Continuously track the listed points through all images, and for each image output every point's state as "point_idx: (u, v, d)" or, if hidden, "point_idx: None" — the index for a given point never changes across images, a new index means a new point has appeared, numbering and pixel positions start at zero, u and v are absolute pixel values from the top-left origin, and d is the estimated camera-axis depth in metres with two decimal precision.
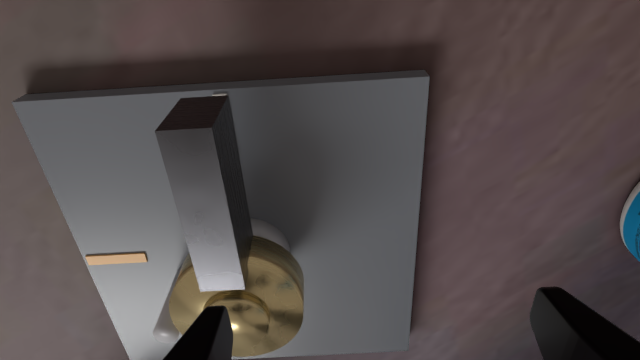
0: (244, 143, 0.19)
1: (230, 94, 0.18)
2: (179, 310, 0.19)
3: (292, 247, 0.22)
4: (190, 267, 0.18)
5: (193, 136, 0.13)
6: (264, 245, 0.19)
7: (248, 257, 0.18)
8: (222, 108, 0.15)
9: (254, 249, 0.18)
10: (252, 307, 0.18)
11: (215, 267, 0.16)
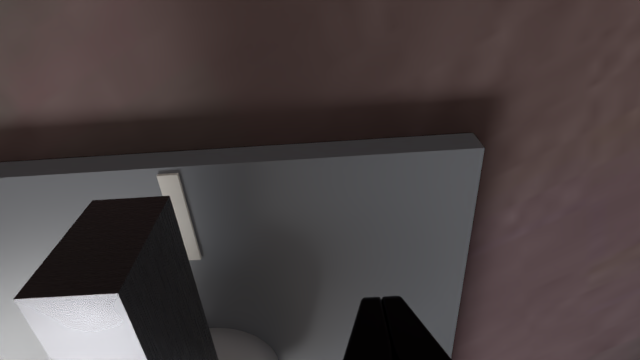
0: (209, 237, 0.13)
1: (184, 174, 0.12)
2: None
3: None
4: None
5: (87, 305, 0.07)
6: None
7: None
8: (152, 230, 0.09)
9: None
10: None
11: None
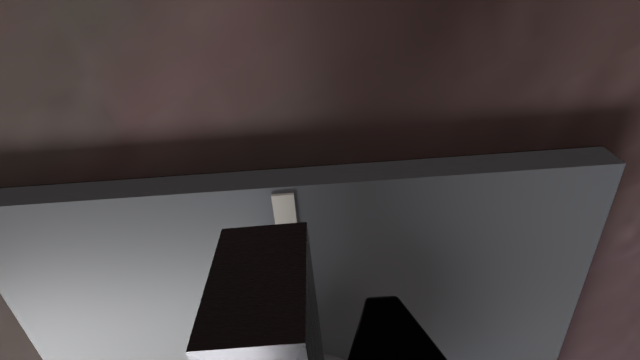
0: (315, 259, 0.12)
1: (299, 194, 0.11)
2: None
3: None
4: None
5: (266, 357, 0.06)
6: None
7: None
8: (306, 263, 0.08)
9: None
10: None
11: None
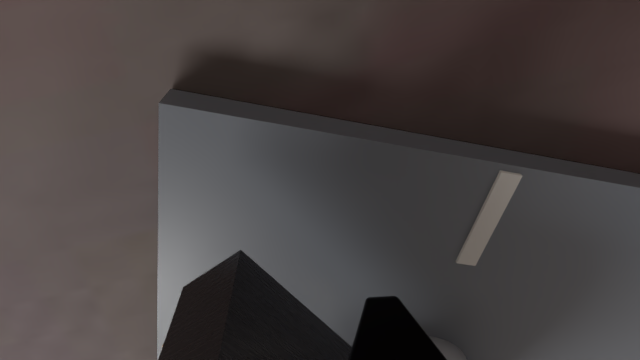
0: (498, 245, 0.12)
1: (525, 176, 0.11)
2: None
3: None
4: None
5: None
6: None
7: None
8: (233, 292, 0.08)
9: None
10: None
11: None
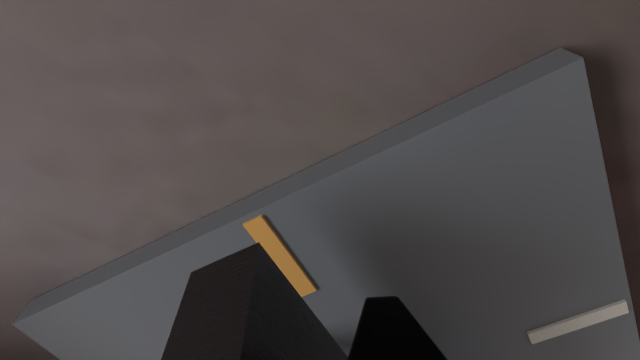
0: (556, 341, 0.15)
1: (626, 314, 0.14)
2: None
3: None
4: None
5: None
6: None
7: None
8: (253, 284, 0.08)
9: None
10: None
11: None
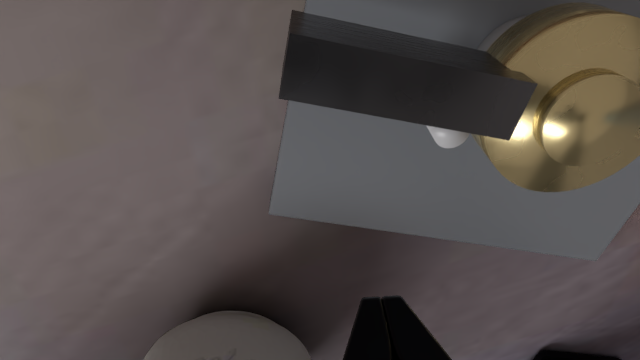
0: None
1: None
2: (532, 177, 0.15)
3: None
4: (481, 141, 0.14)
5: (294, 58, 0.11)
6: (505, 40, 0.13)
7: (503, 65, 0.13)
8: (293, 18, 0.12)
9: (500, 54, 0.13)
10: (577, 87, 0.12)
11: (482, 107, 0.12)
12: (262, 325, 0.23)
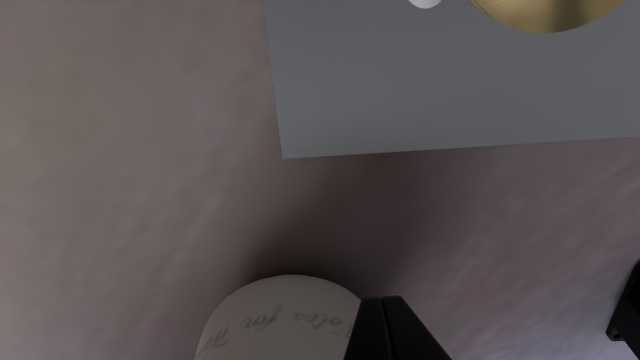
0: None
1: None
2: (538, 17, 0.12)
3: None
4: None
5: None
6: None
7: None
8: None
9: None
10: None
11: None
12: (307, 281, 0.22)
